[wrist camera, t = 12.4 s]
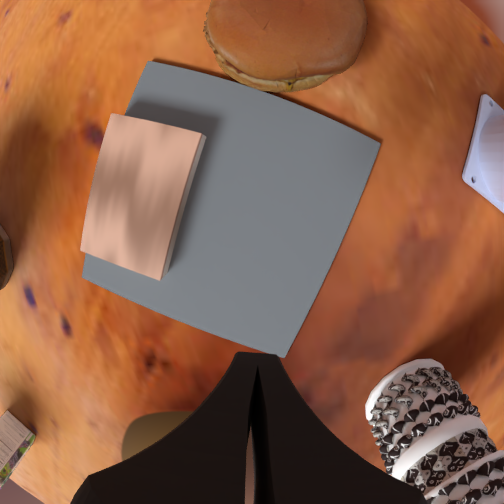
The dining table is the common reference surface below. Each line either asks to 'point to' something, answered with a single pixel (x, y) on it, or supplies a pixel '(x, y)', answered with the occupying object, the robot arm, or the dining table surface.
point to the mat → (247, 208)
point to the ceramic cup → (5, 258)
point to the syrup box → (12, 444)
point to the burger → (285, 40)
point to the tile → (140, 193)
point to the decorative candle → (435, 436)
